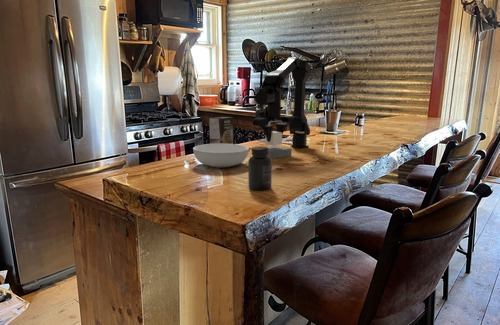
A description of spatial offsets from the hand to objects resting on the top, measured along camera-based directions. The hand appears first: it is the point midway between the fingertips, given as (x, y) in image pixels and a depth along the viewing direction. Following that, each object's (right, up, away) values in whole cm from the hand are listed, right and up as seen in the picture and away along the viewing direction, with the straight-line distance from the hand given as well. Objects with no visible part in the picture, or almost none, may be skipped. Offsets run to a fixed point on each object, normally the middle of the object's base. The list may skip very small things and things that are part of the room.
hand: (273, 141), depth 154 cm
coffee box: (-23, -6, +4) cm, 24 cm away
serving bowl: (-21, -10, -17) cm, 29 cm away
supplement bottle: (-7, -17, -47) cm, 51 cm away
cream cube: (0, -1, 0) cm, 1 cm away
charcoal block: (0, -7, +1) cm, 7 cm away
